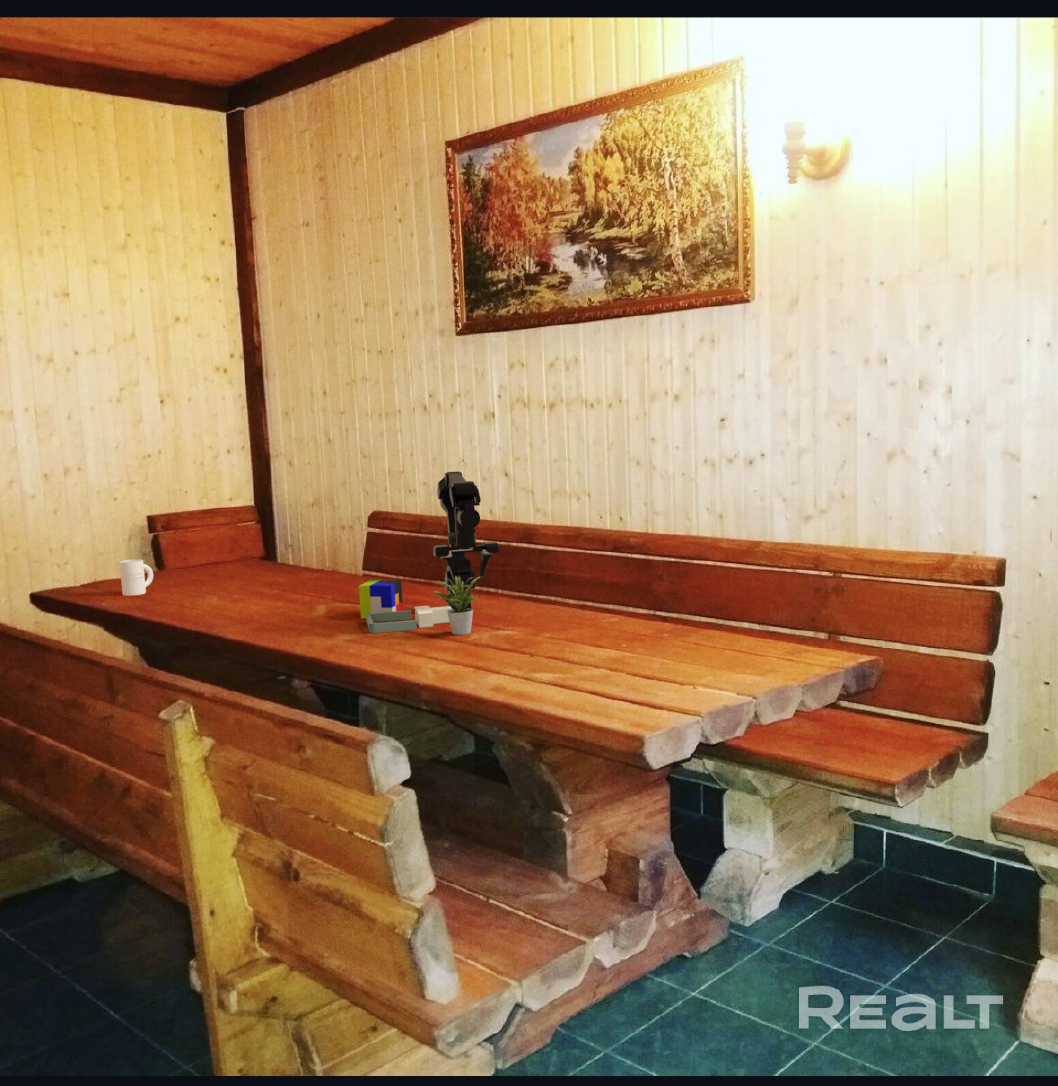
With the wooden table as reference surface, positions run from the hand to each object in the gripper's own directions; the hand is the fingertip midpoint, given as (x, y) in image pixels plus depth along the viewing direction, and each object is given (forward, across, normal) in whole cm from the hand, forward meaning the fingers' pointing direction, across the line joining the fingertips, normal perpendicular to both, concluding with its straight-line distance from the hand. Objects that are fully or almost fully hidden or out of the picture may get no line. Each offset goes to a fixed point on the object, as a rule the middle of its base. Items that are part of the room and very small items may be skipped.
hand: (467, 578), depth 323 cm
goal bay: (+12, +23, 0) cm, 26 cm away
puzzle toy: (+12, +24, -18) cm, 33 cm away
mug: (+12, +104, -102) cm, 146 cm away
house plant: (+12, +5, +17) cm, 21 cm away
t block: (+12, +11, 0) cm, 17 cm away
